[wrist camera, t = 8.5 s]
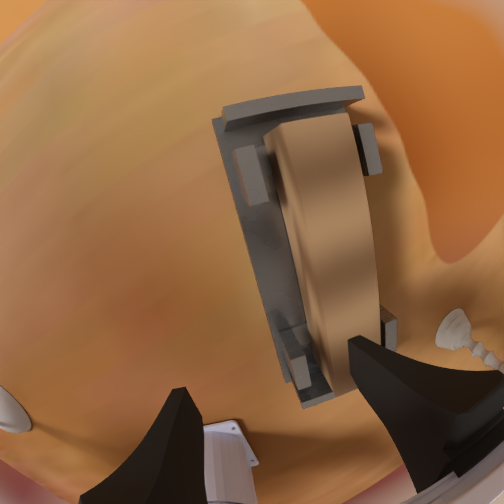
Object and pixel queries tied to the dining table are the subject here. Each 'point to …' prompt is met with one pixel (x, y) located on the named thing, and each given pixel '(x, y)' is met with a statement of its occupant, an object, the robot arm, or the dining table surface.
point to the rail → (328, 236)
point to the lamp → (12, 414)
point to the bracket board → (273, 225)
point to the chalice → (463, 338)
